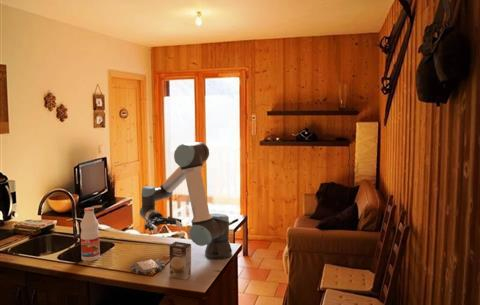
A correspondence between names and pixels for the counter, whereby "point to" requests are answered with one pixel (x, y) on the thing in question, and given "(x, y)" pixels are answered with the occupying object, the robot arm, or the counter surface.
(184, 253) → the coffee box
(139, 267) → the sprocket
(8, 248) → the counter surface
